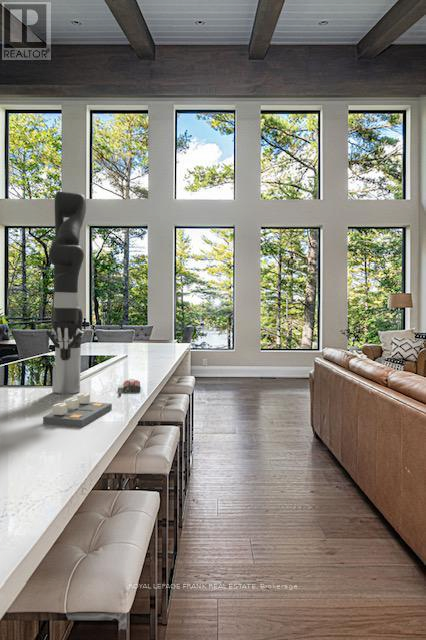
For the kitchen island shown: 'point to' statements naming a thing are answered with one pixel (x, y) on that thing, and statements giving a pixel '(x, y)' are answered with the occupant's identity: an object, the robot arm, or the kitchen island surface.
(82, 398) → the tab back
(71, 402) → the tab middle
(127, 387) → the walkie-talkie
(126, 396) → the kitchen island surface
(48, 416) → the switch panel
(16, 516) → the kitchen island surface
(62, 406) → the tab front
